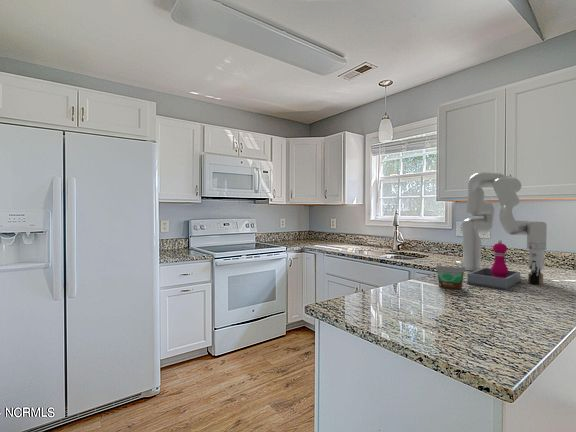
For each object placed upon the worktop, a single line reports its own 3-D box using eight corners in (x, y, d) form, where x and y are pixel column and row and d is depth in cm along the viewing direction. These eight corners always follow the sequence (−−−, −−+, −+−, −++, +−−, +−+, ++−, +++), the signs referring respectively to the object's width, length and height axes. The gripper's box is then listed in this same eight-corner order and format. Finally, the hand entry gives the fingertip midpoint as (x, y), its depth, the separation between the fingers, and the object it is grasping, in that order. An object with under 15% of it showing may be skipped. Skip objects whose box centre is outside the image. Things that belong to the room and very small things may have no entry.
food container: (434, 288, 140) (435, 266, 140) (435, 285, 146) (435, 264, 146) (465, 291, 134) (466, 268, 134) (465, 288, 140) (465, 266, 140)
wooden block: (528, 283, 152) (528, 273, 152) (530, 282, 155) (530, 272, 155) (541, 285, 148) (541, 275, 148) (543, 283, 152) (543, 273, 152)
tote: (467, 283, 150) (467, 273, 150) (483, 276, 167) (484, 267, 167) (506, 290, 138) (506, 279, 138) (520, 281, 155) (520, 272, 155)
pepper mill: (507, 281, 151) (508, 241, 150) (490, 279, 155) (491, 240, 155) (508, 279, 157) (508, 240, 156) (491, 277, 161) (491, 239, 161)
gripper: (543, 248, 143) (542, 287, 143) (549, 246, 154) (548, 281, 155) (523, 246, 149) (522, 284, 149) (530, 244, 160) (529, 279, 160)
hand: (535, 282), depth 152 cm, fingers closed on wooden block, 4 cm apart
